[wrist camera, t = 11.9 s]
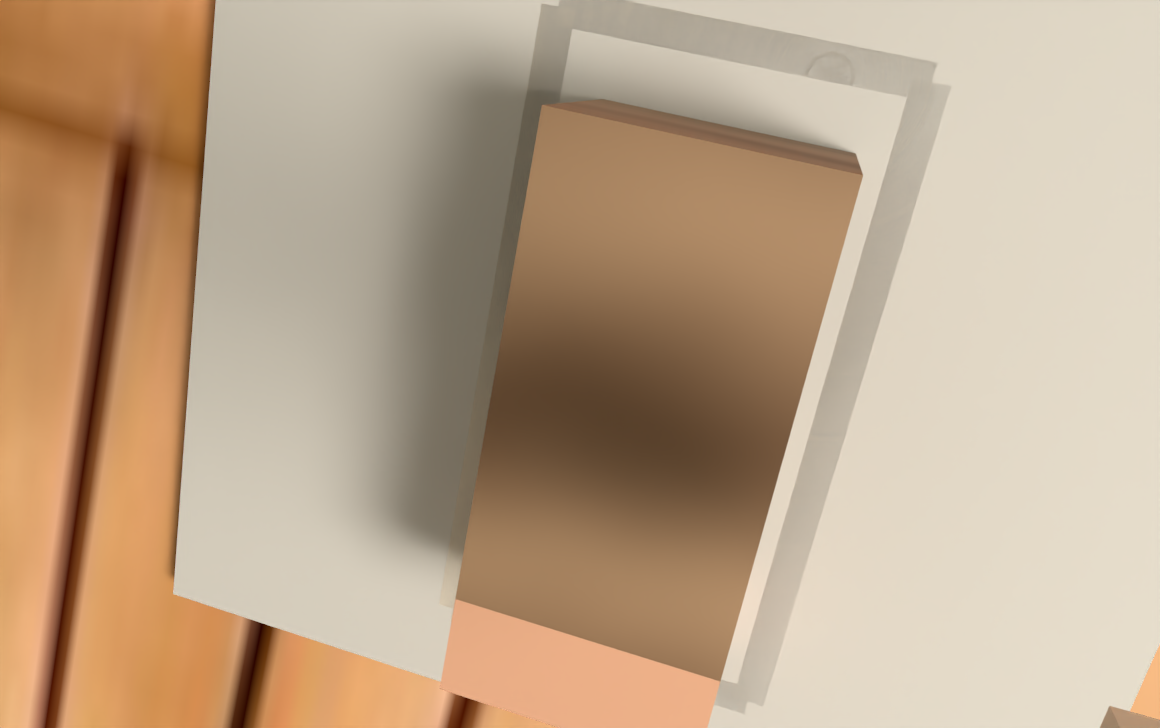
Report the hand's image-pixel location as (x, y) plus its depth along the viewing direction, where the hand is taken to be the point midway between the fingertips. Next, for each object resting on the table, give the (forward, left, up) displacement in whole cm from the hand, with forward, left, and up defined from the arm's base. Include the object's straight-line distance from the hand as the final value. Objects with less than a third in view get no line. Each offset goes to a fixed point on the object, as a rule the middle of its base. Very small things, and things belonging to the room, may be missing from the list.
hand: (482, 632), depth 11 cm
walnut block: (+1, 0, -10) cm, 10 cm away
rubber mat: (0, 0, -11) cm, 11 cm away
